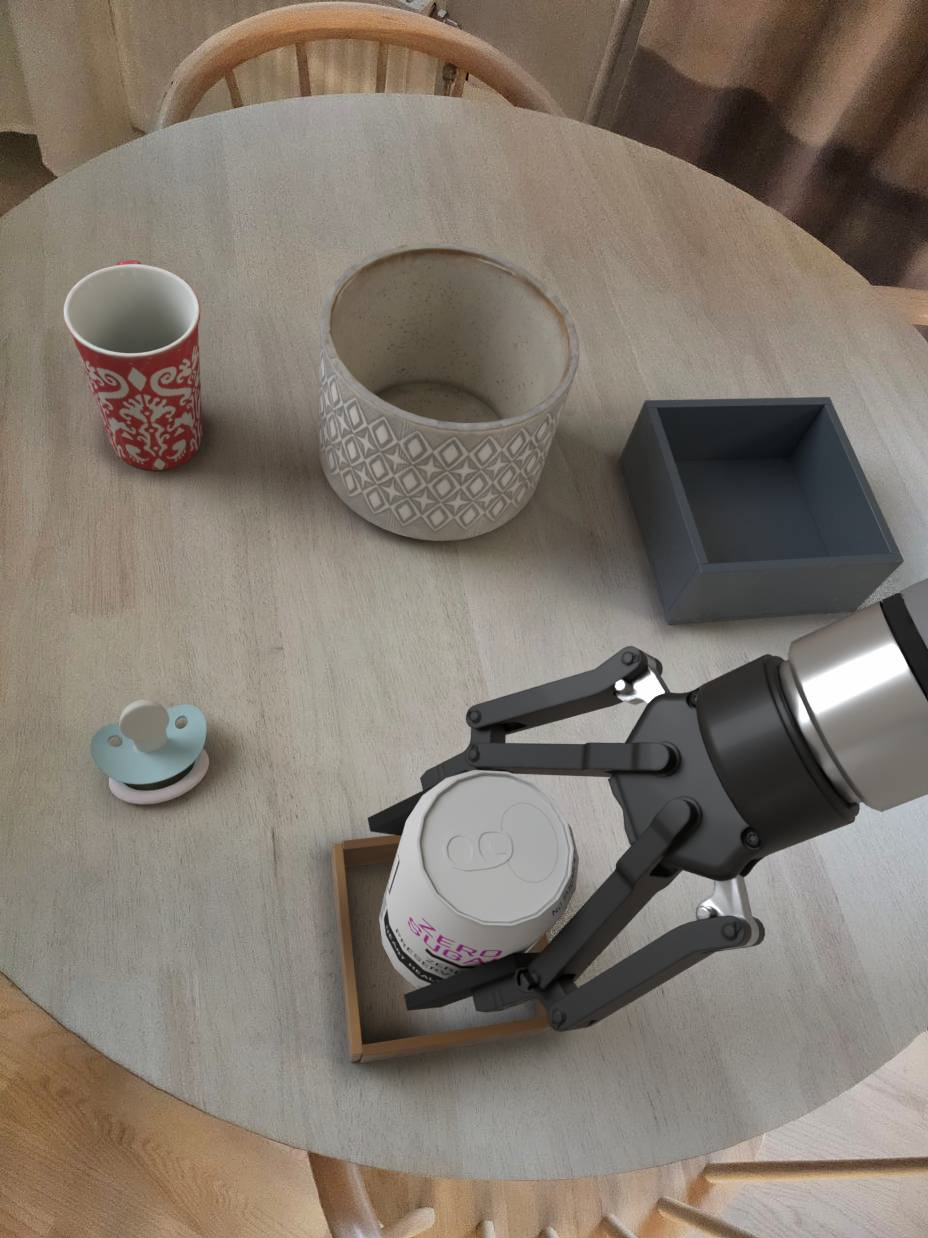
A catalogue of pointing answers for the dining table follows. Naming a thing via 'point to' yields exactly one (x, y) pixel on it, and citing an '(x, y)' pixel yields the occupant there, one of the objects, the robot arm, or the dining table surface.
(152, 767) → the pacifier
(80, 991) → the dining table surface
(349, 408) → the planter
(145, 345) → the mug
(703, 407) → the grey storage bin
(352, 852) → the box
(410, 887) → the supplement can
